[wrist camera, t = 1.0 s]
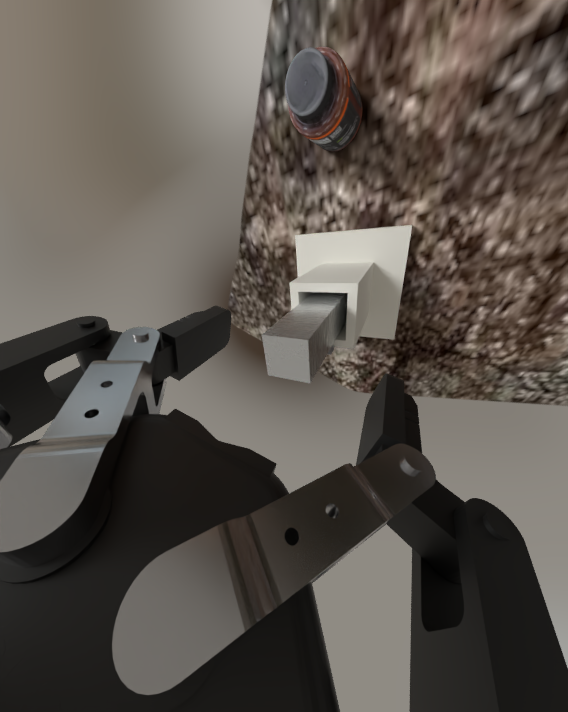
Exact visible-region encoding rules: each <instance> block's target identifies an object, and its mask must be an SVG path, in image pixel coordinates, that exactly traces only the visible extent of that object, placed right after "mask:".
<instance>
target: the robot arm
mask: <svg viewBox="0 0 568 712" xmlns="http://www.w3.org/2000/svg"><path fill="white" fill-rule="evenodd" d="M230 325H231V312H230V311H229V310H226V309H224V308H221V307H219V306H214V307H212V308H210V309H207V310H205V311H201V312H196V313H193V314H191V315H188V316H187V317H184V318H182V319H180V321H179V320H177V321H175V322H173V323H171V324H169V325H167V326H164V327H162V328H160V329H158V330H156V329H153V328H149V327H136V328H131V329H128V330H126V331H125V332H123V333H122V332H117V331H112V330H110V329H109V325H108V322H107V320H106V319H104V318H101V317H96V316H85V317H79V318H75V319H72V320H69V321H66V322H63V323H60V324H57V325H54V326H51V327H48V328H45V329H42V330H40V331H36V332H33V333H31V334H28V335H25V336H22V337H19V338H16V339H13V340H10V341H7V342H4V343H1V344H0V712H340V709H339V705H338V700H337V696H336V691H335V687H334V682H333V677H332V673H331V668H330V664H329V659H328V655H327V650H326V646H325V641H324V636H323V632H322V628H321V623H320V618H319V614H318V609H317V604H316V600H315V595H314V591H313V586H312V583H313V582H314V581H316V580H317V579H318V578H319V577H321V576H322V575H323V574H324V573H326V572H327V571H328V570H329V569H331V568H332V567H333V566H335V565H336V564H337V563H338V562H339V561H341V560H342V559H343V558H344V557H345V556H347V555H348V554H349V553H350V552H352V551H353V550H354V549H356V548H357V547H358V546H359V545H361V544H362V543H363V542H364V541H366V540H367V539H368V538H369V537H371V536H372V535H373V534H374V533H376V532H377V531H378V530H379V529H381V528H382V527H383V526H385V525H386V524H387V525H388V526H389V527H390V528H391V529H392V530H394V531H395V532H396V533H397V534H398V535H399V536H400V537H401V538H402V539H403V540H404V541H405V542H406V543H407V544H408V545H410V546H411V547H412V597H411V598H412V599H411V600H412V601H411V602H412V603H411V660H410V661H411V662H410V712H568V668H567V665H566V662H565V659H564V657H563V653H562V651H561V648H560V645H559V642H558V639H557V636H556V633H555V630H554V627H553V624H552V621H551V618H550V615H549V612H548V609H547V606H546V603H545V600H544V597H543V594H542V591H541V588H540V585H539V583H538V579H537V576H536V573H535V570H534V567H533V564H532V561H531V559H530V556H529V553H528V550H527V547H526V544H525V541H524V539H523V537H522V535H521V533H520V532H519V530H518V529H517V527H516V526H515V525H514V523H513V522H512V521H511V520H510V519H509V518H508V517H507V516H506V515H505V514H504V513H503V512H501V510H499V509H498V508H497V507H495V506H494V505H492V504H491V503H489V502H487V501H485V500H482V499H478V498H472V499H469V500H468V501H466V502H464V501H463V500H461V499H460V498H459V497H457V496H456V495H454V494H453V493H452V492H451V491H449V490H448V489H447V488H445V487H444V486H443V485H442V484H440V483H439V482H438V481H437V480H436V475H435V471H434V469H433V466H432V465H431V463H430V462H429V461H428V459H427V458H426V457H425V456H424V455H423V454H422V448H421V438H420V428H419V417H418V408H417V405H416V403H415V401H414V399H413V398H412V396H410V395H408V394H406V393H404V381H403V380H401V379H399V378H396V377H394V376H391V375H389V374H385V375H384V376H383V378H382V379H381V381H380V383H379V384H378V386H377V388H376V389H375V391H374V393H373V394H372V396H371V398H370V400H369V402H368V404H367V407H366V412H365V417H364V423H363V428H362V434H361V440H360V446H359V452H358V457H357V463H356V466H354V467H353V466H352V464H350V463H349V464H345V465H343V466H341V467H339V468H337V469H335V470H333V471H332V472H330V473H328V474H326V475H324V476H322V477H320V478H318V479H316V480H314V481H312V482H310V483H309V484H307V485H305V486H303V487H301V488H299V489H297V490H295V491H293V492H291V493H290V494H289V493H288V491H287V489H286V488H285V486H284V484H283V483H282V482H281V481H280V479H279V478H278V477H277V476H276V475H275V474H274V470H275V467H276V463H274V462H272V461H270V460H269V459H267V458H265V457H263V456H261V455H260V454H258V453H256V452H254V451H252V450H250V449H248V448H244V447H240V446H236V445H232V444H228V443H224V442H221V441H218V440H217V439H215V438H214V437H213V436H212V435H211V434H210V433H209V432H208V431H207V430H206V429H205V428H204V426H202V424H200V423H199V422H198V421H197V420H195V419H193V418H191V417H190V416H188V415H186V414H184V413H182V412H181V411H179V410H177V409H174V410H173V411H172V412H171V413H170V414H168V415H161V414H159V413H160V408H161V403H162V400H163V396H164V391H165V387H166V378H167V377H169V376H171V377H173V378H175V379H177V380H179V381H180V380H181V379H182V378H184V377H185V376H186V375H187V374H189V373H190V372H191V371H193V370H194V369H195V368H197V367H199V366H200V365H201V364H203V363H204V362H205V361H207V360H208V359H209V358H211V357H212V356H213V355H215V354H216V353H217V352H219V351H220V350H221V349H223V348H224V347H225V346H226V345H227V343H228V341H229V338H230ZM75 353H76V356H77V358H78V361H79V363H80V367H78V368H76V369H74V370H72V371H70V372H68V373H66V374H64V375H62V376H60V377H58V378H56V379H54V380H52V381H50V382H47V381H46V379H45V377H44V372H45V370H46V368H47V367H48V366H49V365H51V364H53V363H55V362H57V361H60V360H62V359H64V358H66V357H68V356H71V355H73V354H75ZM53 419H54V420H53ZM52 420H53V422H52V423H51V425H50V426H49V428H48V429H47V431H46V432H45V434H44V435H43V437H42V438H41V439H39V440H36V441H31V442H27V443H23V444H19V445H15V446H12V445H13V444H15V443H17V442H18V441H20V440H21V439H22V438H24V437H26V436H28V435H29V434H31V433H32V432H34V431H36V430H37V429H39V428H40V427H42V426H44V425H45V424H47V423H48V422H50V421H52ZM10 446H11V447H10Z"/></svg>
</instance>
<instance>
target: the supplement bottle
mask: <svg viewBox="0 0 568 712" xmlns="http://www.w3.org/2000/svg"><path fill="white" fill-rule="evenodd" d="M285 93H286V99H287V103H288V108H289V113H290V117H291V120H292V122H293V124H294V126H295V128H296V129H297V130H298V131H299V132H300V133H301V134H302V135H303V136H305V137H306V138H308V139H309V140H311V141H313V142H314V143H316V144H317V145H319V146H320V147H322V148H323V149H325V150H327V151H339V150H341V149H343V148H345V147H346V146H347V145H348V144H349V143H350V142H351V141H352V140H353V138H354V137H355V135H356V134H357V132H358V129H359V126H360V123H361V118H362V102H361V98H360V95H359V92H358V90H357V88H356V86H355V84H354V82H353V80H352V78H351V75H350V73H349V71H348V69H347V67H346V65H345V63H344V62H343V60H342V58H341V57H340V55H339V54H338V53H337V52H336V51H334V50H333V49H331V48H328V47H318V48H306V49H303V50H301V51H300V52H299V53H298V54H297V55H296V56H295V58H294V59H293V61H292V62H291V64H290V67H289V69H288V72H287V76H286V82H285Z"/></svg>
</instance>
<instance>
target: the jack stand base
mask: <svg viewBox="0 0 568 712" xmlns="http://www.w3.org/2000/svg"><path fill="white" fill-rule="evenodd" d="M411 230H412V225H405V226H394V227H382V228H371V229H359V230H348V231H336V232H325V233H314V234H302V235H296V236H295V238H296V254H297V270H298V278H297V279H295V280H293V281H292V282H290V294H291V307H292V309H294V308H295V307H296V306H297V305H298V304H300V303H301V302H302V301H303V300H304V299H306V298H307V297H308V296H309V295H310V294H312V293H313V292H330V293H348V297H347V321H346V323H345V324H344V326H343V328H342V330H341V331H340V333H339V335H338V336H337V338H336V340H335V342H334V343H333V345H332V347H331V348H330V350H329V352H328V354H332V352H333V350H334V347H338V348H347V349H354V348H355V346H356V343H357V341H358V338H359V336H362V337H372V338H383V339H393V340H394V337H395V331H396V325H397V319H398V312H399V306H400V300H401V293H402V287H403V281H404V274H405V268H406V262H407V256H408V249H409V243H410V237H411Z"/></svg>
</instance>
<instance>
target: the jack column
mask: <svg viewBox="0 0 568 712" xmlns="http://www.w3.org/2000/svg"><path fill="white" fill-rule="evenodd" d="M347 297H348V293H330V292H313V293H312V294H310V295H309V296H308V297H307V298H306V299H304V300H303V301H302V302H301V303H300V304H298V305H297V306H296V307H295V308H294V309H292V310H291V311H290V312H289V313H288V314H286V315H285V316H284V317H283V318H282V319H280V320H279V321H278V322H277V323H276V324H274V325H273V326H272V327H271V328H269V329H268V330H267V331H266V332H265V333H263V334H262V339H263V345H264V351H265V358H266V364H267V370H268V375H270V376H276V377H281V378H286V379H291V380H296V381H301V382H306V383H311V381H312V379H313V378H314V376H315V374H316V372H317V371H318V369H319V367H320V366H321V364H322V362H323V360H324V359H325V357H326V355H327V354H328V352H329V350H330V348H331V347H332V345H333V343H334V342H335V340H336V338H337V336H338V335H339V333H340V331H341V330H342V328H343V326H344V324H345V323H346V321H347Z"/></svg>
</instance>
